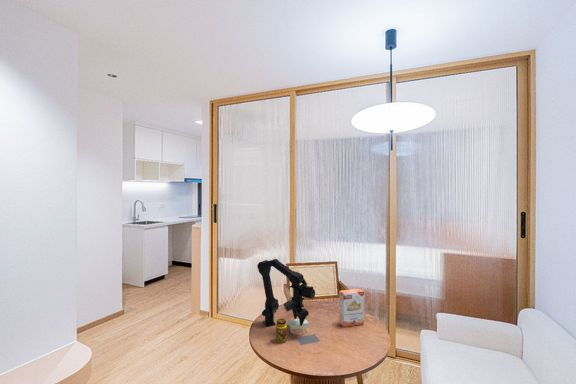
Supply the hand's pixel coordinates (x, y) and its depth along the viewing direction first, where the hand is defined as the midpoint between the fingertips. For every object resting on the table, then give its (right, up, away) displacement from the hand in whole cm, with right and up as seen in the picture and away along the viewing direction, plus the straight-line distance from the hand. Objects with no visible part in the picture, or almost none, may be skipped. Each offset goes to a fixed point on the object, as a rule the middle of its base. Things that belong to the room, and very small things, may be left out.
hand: (298, 322), depth 168 cm
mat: (+5, -6, -10) cm, 13 cm away
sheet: (0, -2, 0) cm, 2 cm away
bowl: (0, -6, 0) cm, 6 cm away
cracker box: (+34, -6, +9) cm, 36 cm away
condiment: (-10, -6, -10) cm, 16 cm away
